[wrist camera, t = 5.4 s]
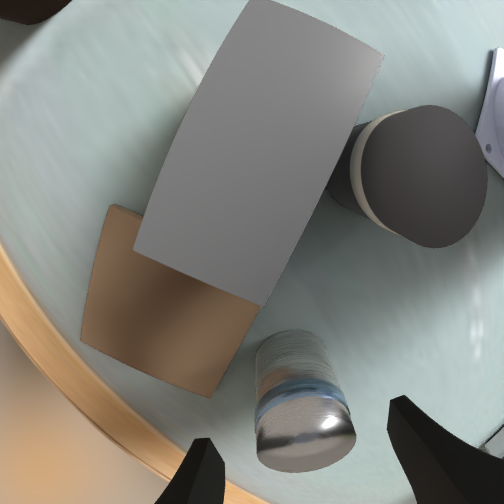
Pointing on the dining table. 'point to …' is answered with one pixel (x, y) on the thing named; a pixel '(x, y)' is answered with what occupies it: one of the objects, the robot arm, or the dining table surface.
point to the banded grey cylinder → (414, 175)
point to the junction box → (257, 149)
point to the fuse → (299, 405)
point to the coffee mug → (30, 10)
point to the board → (160, 313)
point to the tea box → (496, 445)
